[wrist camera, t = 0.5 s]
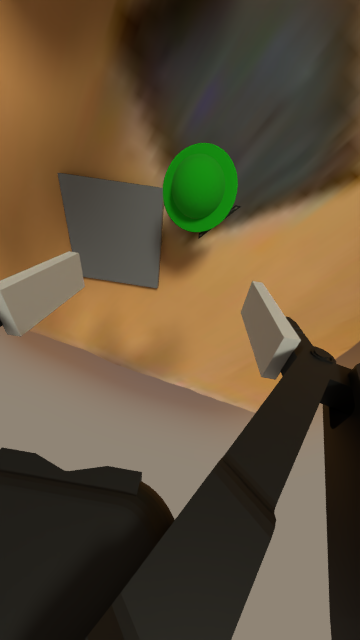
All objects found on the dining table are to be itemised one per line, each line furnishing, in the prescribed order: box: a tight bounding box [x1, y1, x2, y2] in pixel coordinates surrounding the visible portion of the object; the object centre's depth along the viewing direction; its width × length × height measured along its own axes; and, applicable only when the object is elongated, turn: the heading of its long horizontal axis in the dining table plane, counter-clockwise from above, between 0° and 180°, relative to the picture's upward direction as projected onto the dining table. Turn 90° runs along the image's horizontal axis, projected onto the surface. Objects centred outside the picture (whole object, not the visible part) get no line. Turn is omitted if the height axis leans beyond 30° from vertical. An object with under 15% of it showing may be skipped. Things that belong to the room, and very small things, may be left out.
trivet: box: [58, 173, 164, 288], centre depth 37 cm, size 18×18×1 cm
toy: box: [163, 143, 241, 239], centre depth 26 cm, size 9×9×15 cm
